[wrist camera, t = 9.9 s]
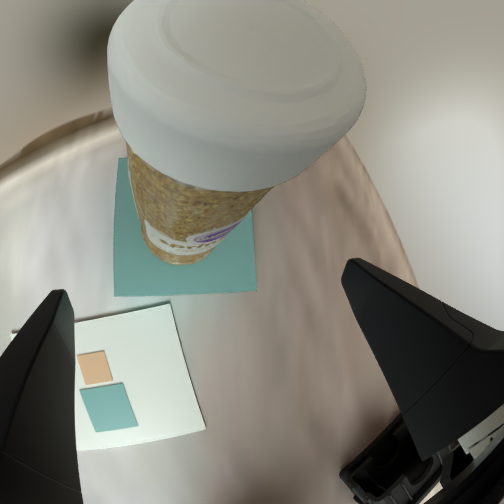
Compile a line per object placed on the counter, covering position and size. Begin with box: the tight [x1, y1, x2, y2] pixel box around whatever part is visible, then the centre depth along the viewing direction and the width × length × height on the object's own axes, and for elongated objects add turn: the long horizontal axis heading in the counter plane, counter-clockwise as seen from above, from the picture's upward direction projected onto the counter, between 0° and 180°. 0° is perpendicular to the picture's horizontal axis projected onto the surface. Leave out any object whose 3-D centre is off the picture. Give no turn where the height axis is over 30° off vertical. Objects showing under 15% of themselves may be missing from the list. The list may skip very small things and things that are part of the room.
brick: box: [114, 158, 257, 297], centre depth 18 cm, size 8×8×3 cm
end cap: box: [339, 413, 459, 504], centre depth 18 cm, size 10×7×7 cm
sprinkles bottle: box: [107, 0, 366, 265], centre depth 10 cm, size 5×5×13 cm
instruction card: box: [10, 304, 206, 451], centre depth 16 cm, size 9×12×1 cm
